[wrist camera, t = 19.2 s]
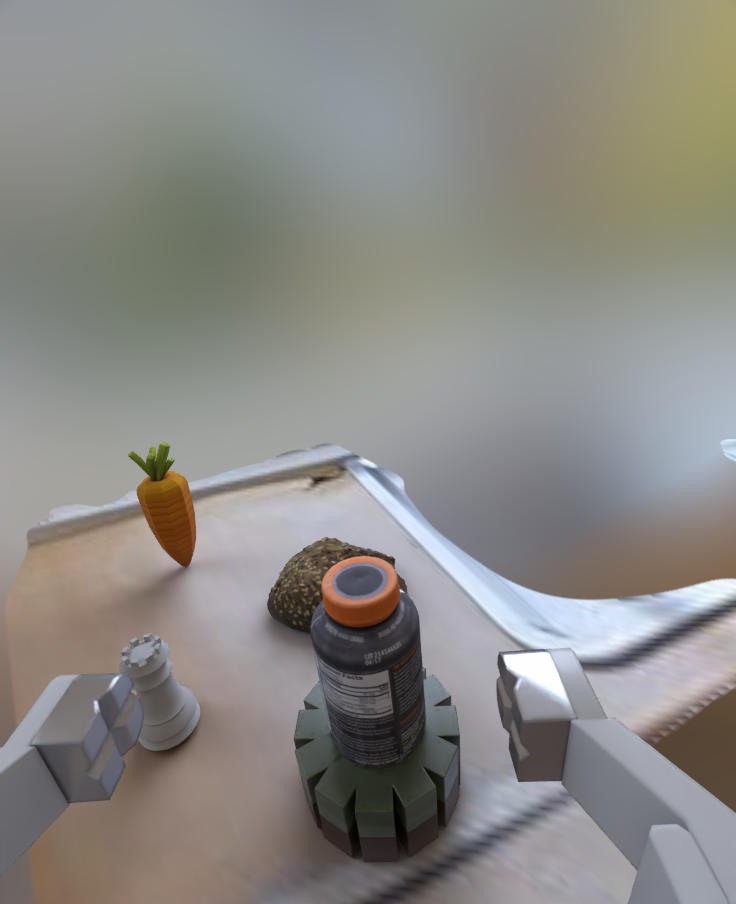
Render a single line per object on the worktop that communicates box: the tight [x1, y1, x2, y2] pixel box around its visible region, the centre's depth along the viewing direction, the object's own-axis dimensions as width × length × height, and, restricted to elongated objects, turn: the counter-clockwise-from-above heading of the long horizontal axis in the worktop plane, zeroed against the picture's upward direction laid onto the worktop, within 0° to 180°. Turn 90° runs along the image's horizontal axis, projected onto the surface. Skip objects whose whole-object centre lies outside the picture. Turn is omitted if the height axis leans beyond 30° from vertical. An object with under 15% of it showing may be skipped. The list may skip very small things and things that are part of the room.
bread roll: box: [267, 537, 407, 632], centre depth 46 cm, size 13×12×5 cm
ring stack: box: [294, 668, 460, 862], centre depth 30 cm, size 10×10×5 cm
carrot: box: [128, 443, 196, 567], centre depth 50 cm, size 5×5×15 cm
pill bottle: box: [311, 556, 426, 768], centre depth 27 cm, size 6×6×11 cm
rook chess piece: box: [120, 634, 201, 751], centre depth 34 cm, size 4×4×8 cm
